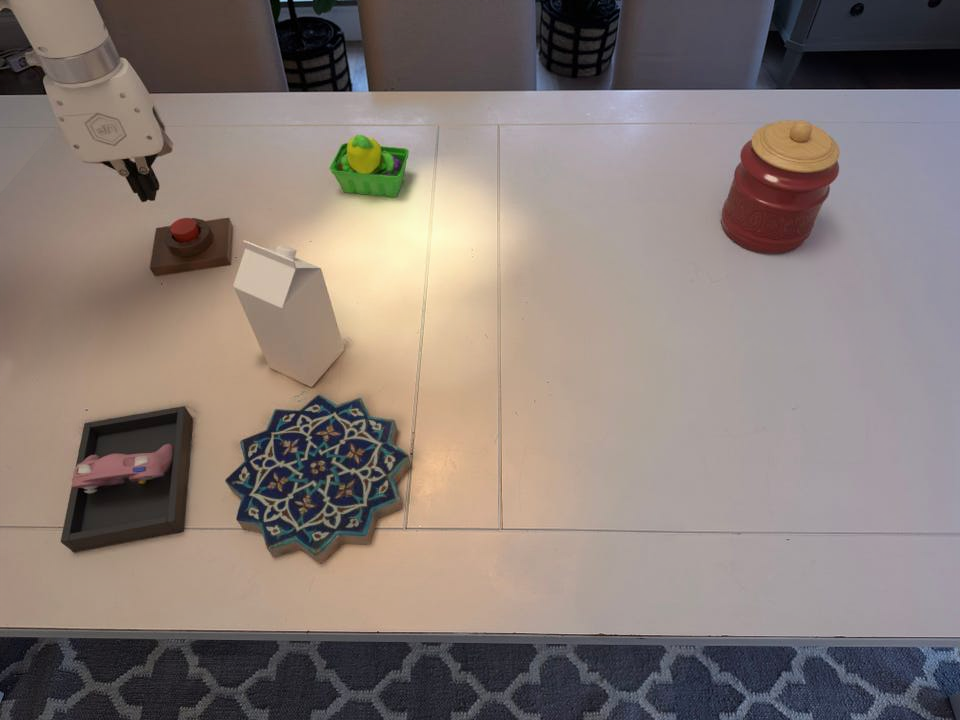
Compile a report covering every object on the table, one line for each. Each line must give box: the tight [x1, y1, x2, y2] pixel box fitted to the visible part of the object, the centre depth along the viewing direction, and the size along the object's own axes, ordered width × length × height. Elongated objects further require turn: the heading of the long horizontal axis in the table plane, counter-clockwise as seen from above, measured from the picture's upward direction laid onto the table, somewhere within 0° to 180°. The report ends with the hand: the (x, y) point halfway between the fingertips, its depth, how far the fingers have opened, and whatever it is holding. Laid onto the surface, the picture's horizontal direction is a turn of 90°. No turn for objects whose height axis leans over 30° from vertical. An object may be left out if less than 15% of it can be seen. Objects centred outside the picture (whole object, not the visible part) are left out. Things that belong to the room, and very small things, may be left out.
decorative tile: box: [225, 393, 412, 565], centre depth 76 cm, size 20×20×2 cm
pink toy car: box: [71, 444, 174, 493], centre depth 75 cm, size 10×5×7 cm, turn 99°
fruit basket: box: [328, 134, 410, 198], centre depth 106 cm, size 11×9×11 cm
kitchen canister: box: [721, 119, 841, 255], centre depth 95 cm, size 13×13×18 cm
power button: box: [170, 217, 200, 243], centre depth 99 cm, size 4×4×2 cm
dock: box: [60, 405, 194, 553], centre depth 76 cm, size 12×15×3 cm
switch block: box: [149, 217, 233, 277], centre depth 100 cm, size 11×9×4 cm
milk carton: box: [232, 239, 345, 388], centre depth 81 cm, size 7×7×19 cm
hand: (149, 194), depth 88 cm, fingers closed
